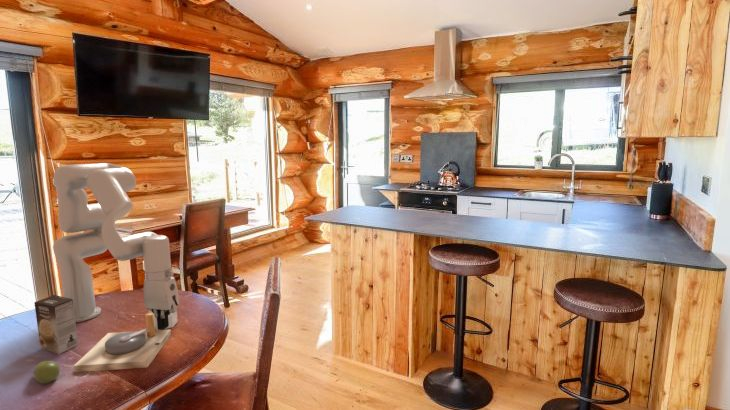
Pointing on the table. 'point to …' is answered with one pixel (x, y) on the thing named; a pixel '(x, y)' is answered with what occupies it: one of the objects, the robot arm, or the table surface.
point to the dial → (130, 339)
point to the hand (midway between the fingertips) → (163, 327)
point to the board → (135, 359)
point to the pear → (46, 371)
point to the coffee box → (56, 323)
